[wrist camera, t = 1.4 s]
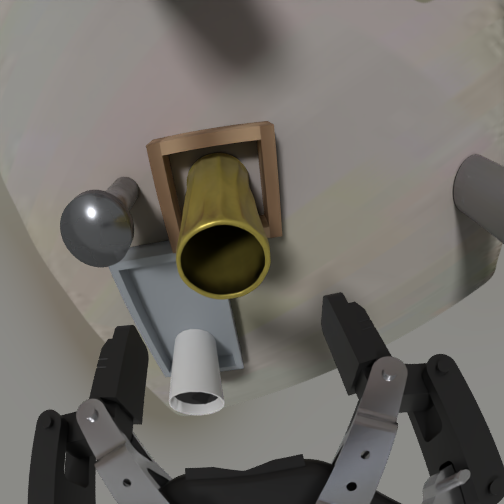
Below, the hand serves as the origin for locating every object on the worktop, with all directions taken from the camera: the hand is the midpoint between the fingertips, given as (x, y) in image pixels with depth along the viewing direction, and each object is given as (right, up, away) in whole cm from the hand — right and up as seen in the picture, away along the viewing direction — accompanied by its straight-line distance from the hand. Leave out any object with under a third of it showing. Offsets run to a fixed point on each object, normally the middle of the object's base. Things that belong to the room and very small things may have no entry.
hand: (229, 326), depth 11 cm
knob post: (-12, +9, +15) cm, 21 cm away
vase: (-2, +10, +16) cm, 19 cm away
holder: (-2, +10, +16) cm, 19 cm away
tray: (-8, -5, +24) cm, 26 cm away
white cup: (-7, -9, +27) cm, 29 cm away
